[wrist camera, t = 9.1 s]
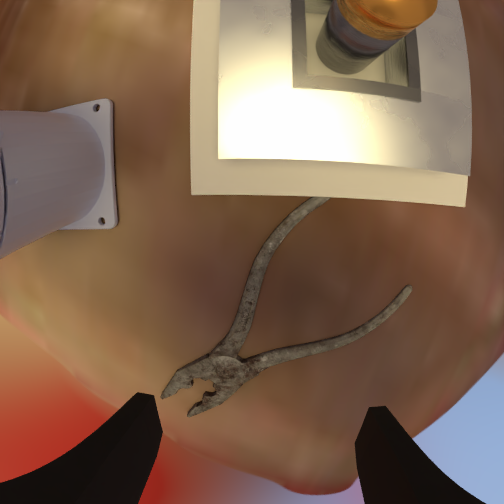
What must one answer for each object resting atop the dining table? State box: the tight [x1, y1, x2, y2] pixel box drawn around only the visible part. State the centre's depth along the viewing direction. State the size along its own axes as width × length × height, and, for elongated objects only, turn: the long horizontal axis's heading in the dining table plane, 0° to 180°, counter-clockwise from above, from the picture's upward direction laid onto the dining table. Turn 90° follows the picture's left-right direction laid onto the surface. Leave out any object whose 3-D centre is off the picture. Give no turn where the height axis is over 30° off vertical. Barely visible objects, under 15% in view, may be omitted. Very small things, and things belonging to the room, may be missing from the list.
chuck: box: [218, 0, 472, 176], centre depth 12 cm, size 12×12×3 cm
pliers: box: [160, 196, 412, 417], centre depth 20 cm, size 10×1×20 cm
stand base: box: [190, 0, 468, 207], centre depth 14 cm, size 16×16×1 cm
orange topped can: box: [316, 0, 438, 75], centre depth 10 cm, size 3×3×8 cm
